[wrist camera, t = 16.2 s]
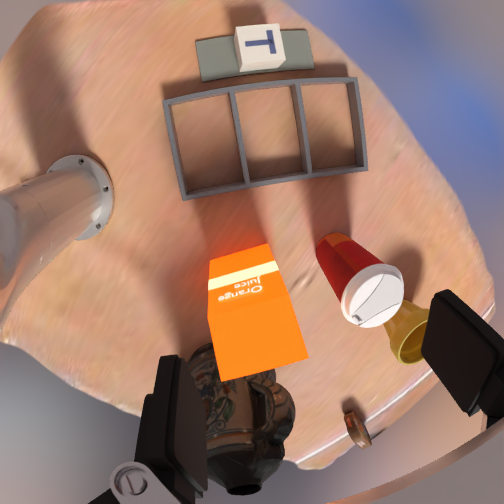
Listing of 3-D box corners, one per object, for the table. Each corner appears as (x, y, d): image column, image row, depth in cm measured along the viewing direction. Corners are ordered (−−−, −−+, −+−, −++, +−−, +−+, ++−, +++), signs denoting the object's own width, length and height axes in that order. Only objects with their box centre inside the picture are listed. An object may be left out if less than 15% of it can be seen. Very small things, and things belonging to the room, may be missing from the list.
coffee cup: (327, 284, 47) (365, 342, 33) (297, 249, 44) (332, 304, 30) (367, 250, 45) (417, 298, 32) (340, 213, 42) (392, 253, 29)
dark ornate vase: (185, 394, 54) (180, 505, 31) (185, 319, 47) (171, 457, 24) (265, 397, 56) (286, 503, 34) (284, 325, 49) (326, 453, 26)
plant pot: (425, 291, 50) (453, 318, 41) (405, 333, 54) (428, 363, 45) (386, 287, 49) (414, 318, 40) (366, 334, 52) (388, 368, 44)
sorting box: (184, 197, 39) (182, 201, 37) (165, 102, 34) (162, 100, 31) (360, 168, 40) (368, 170, 38) (349, 79, 35) (357, 77, 32)
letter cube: (233, 39, 31) (235, 26, 26) (271, 35, 31) (278, 23, 26) (239, 72, 33) (242, 63, 28) (277, 68, 33) (285, 59, 28)
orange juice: (279, 286, 46) (315, 381, 28) (225, 302, 46) (232, 404, 28) (267, 242, 43) (303, 326, 25) (208, 259, 43) (204, 353, 25)
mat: (202, 82, 33) (202, 81, 33) (195, 42, 31) (195, 41, 30) (313, 69, 34) (314, 68, 33) (306, 31, 31) (307, 30, 31)
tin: (365, 425, 68) (375, 448, 60) (356, 430, 68) (365, 453, 60) (349, 405, 62) (361, 431, 54) (338, 411, 62) (348, 438, 55)
